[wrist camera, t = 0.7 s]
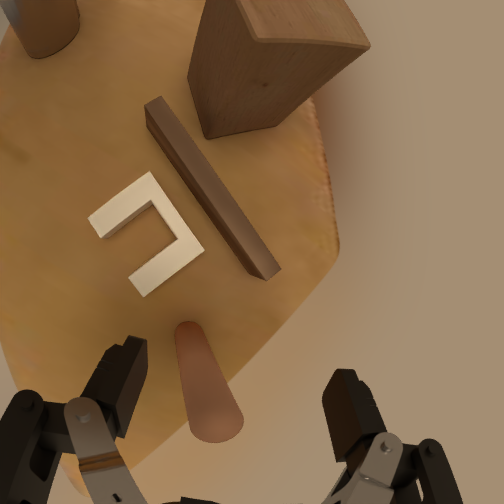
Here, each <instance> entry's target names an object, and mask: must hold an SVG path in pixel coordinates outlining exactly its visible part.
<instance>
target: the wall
mask: <svg viewBox="0 0 504 504" xmlns="http://www.w3.org/2000/svg"><path fill="white" fill-rule="evenodd" d="M144 108H145V116H146V125H147V128H148V129H149V131H150V132H151V134H152V135H153V137H154V138H155V140H156V141H157V142H158V144H159V145H160V147H161V148H162V150H163V151H164V153H165V154H166V156H167V157H168V159H169V160H170V161H171V163H172V164H173V166H174V167H175V169H176V170H177V172H178V173H179V175H180V176H181V177H182V179H183V180H184V182H185V183H186V185H187V186H188V188H189V189H190V190H191V192H192V193H193V195H194V196H195V198H196V199H197V201H198V202H199V203H200V205H201V206H202V208H203V209H204V211H205V212H206V213H207V215H208V216H209V218H210V219H211V221H212V222H213V223H214V225H215V226H216V228H217V229H218V230H219V232H220V233H221V235H222V236H223V238H224V239H225V240H226V242H227V243H228V245H229V246H230V247H231V249H232V250H233V252H234V253H235V254H236V256H237V257H238V259H239V260H240V262H241V263H242V264H243V266H244V267H245V269H246V270H247V271H248V273H249V274H250V275H253V276H255V277H258V278H260V279H263V280H265V281H268V280H269V279H270V278H271V277H273V276H274V275H275V274H276V273H277V272H279V271H280V270H281V268H280V266H279V265H278V263H277V262H276V260H275V259H274V257H273V256H272V254H271V253H270V251H269V250H268V248H267V247H266V245H265V244H264V242H263V241H262V239H261V238H260V236H259V235H258V234H257V232H256V231H255V229H254V228H253V226H252V225H251V223H250V222H249V220H248V219H247V217H246V216H245V215H244V213H243V212H242V210H241V209H240V207H239V206H238V204H237V203H236V201H235V200H234V199H233V197H232V196H231V194H230V193H229V191H228V190H227V188H226V187H225V185H224V184H223V183H222V181H221V180H220V178H219V177H218V175H217V174H216V173H215V171H214V170H213V168H212V167H211V165H210V164H209V162H208V161H207V160H206V158H205V157H204V155H203V154H202V153H201V151H200V150H199V148H198V147H197V145H196V144H195V143H194V141H193V140H192V138H191V137H190V135H189V134H188V133H187V131H186V130H185V128H184V127H183V126H182V124H181V123H180V121H179V120H178V119H177V117H176V116H175V114H174V113H173V112H172V110H171V109H170V107H169V106H168V105H167V103H166V102H165V100H164V99H163V98H162V96H159V97H158V98H156V99H154V100H152V101H151V102H149V103H147V104H145V105H144Z"/></svg>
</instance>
